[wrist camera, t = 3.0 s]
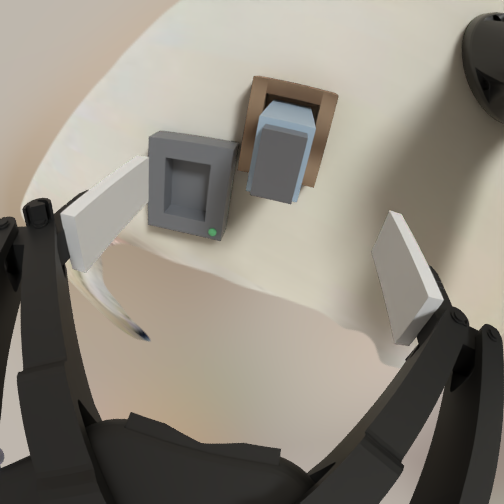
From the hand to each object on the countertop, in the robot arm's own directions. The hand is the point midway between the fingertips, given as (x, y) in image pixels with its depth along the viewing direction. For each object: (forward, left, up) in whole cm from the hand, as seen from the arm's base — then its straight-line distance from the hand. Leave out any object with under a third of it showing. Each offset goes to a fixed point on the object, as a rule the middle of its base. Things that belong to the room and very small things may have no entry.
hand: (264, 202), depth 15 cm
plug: (0, 0, -19) cm, 19 cm away
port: (+9, -10, -20) cm, 24 cm away
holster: (0, 0, -20) cm, 20 cm away
